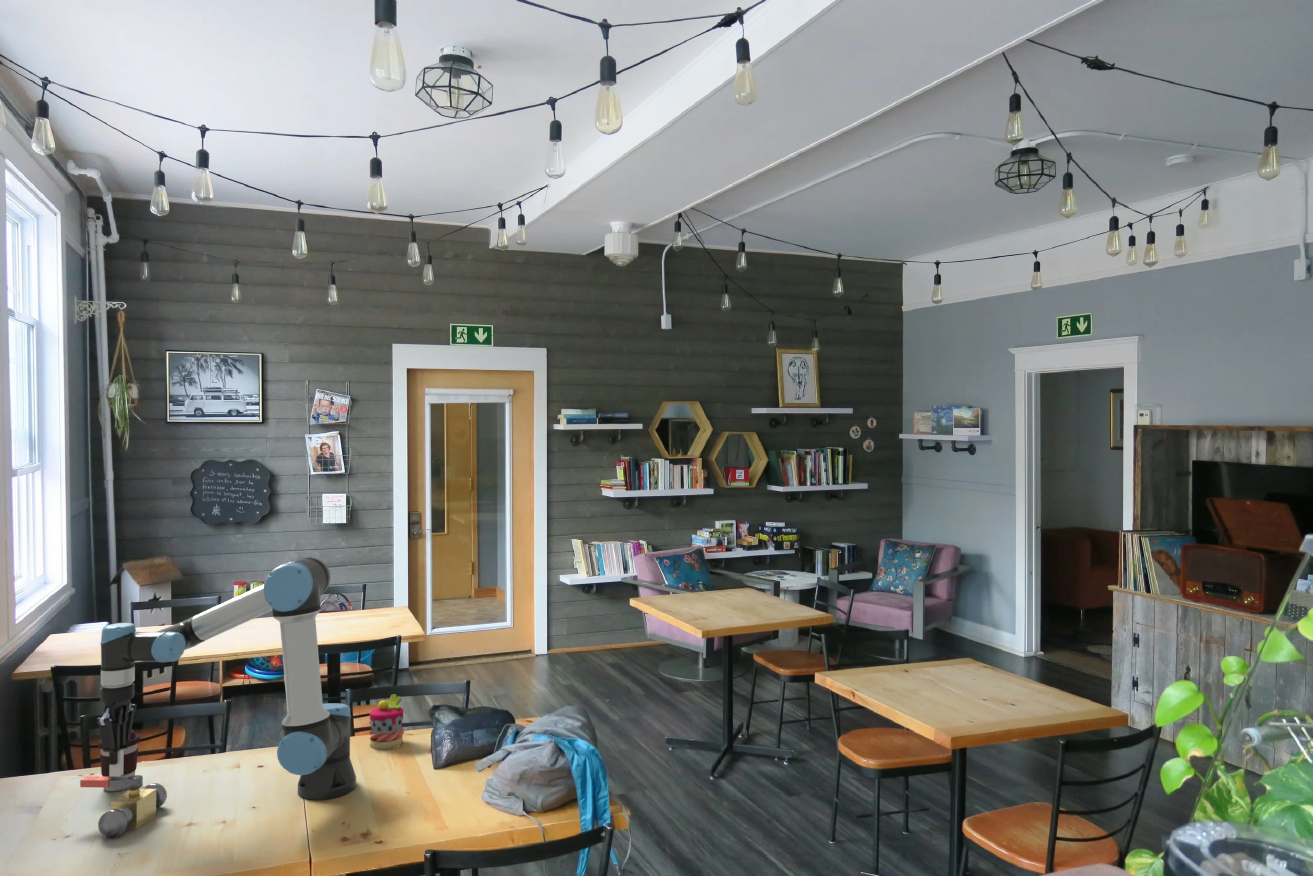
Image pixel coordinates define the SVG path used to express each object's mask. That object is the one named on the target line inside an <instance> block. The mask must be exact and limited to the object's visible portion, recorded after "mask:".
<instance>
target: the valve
mask: <svg viewBox="0 0 1313 876" xmlns="http://www.w3.org/2000/svg"><path fill="white" fill-rule="evenodd" d="M167 798H168V793H167V790H166V788H165V786H164V785H162V784H160V783H157V782H152V783H149V784H147V785H146V786H145V787H143V788H141V787H140V788H137V789H132V790H127V791H125V792H124V793H122V794H121V795H119V796H118V797H116V798H115V799H113V800H112V801H110V802H111V803H110V809H109V810H107V811H106V812H104V813H103V814H101V816H100V817H99V820H98V825H97V826H98V831H99V833H100V834H101V835H102V836H103V837H104V838H108V839H115V838H117V837H119V836H121V835H123V834H124V833H125V832H126V831H127V830H138V829H139V828H141V827H142V826H144V825H145V824H146V823H148V822H149V821H151V820H152V819H153V818H155V817H156V816H157V810H158V809H159V808H160V807H162V806H163V805H164V804H165V803H166V801H167Z"/></svg>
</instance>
